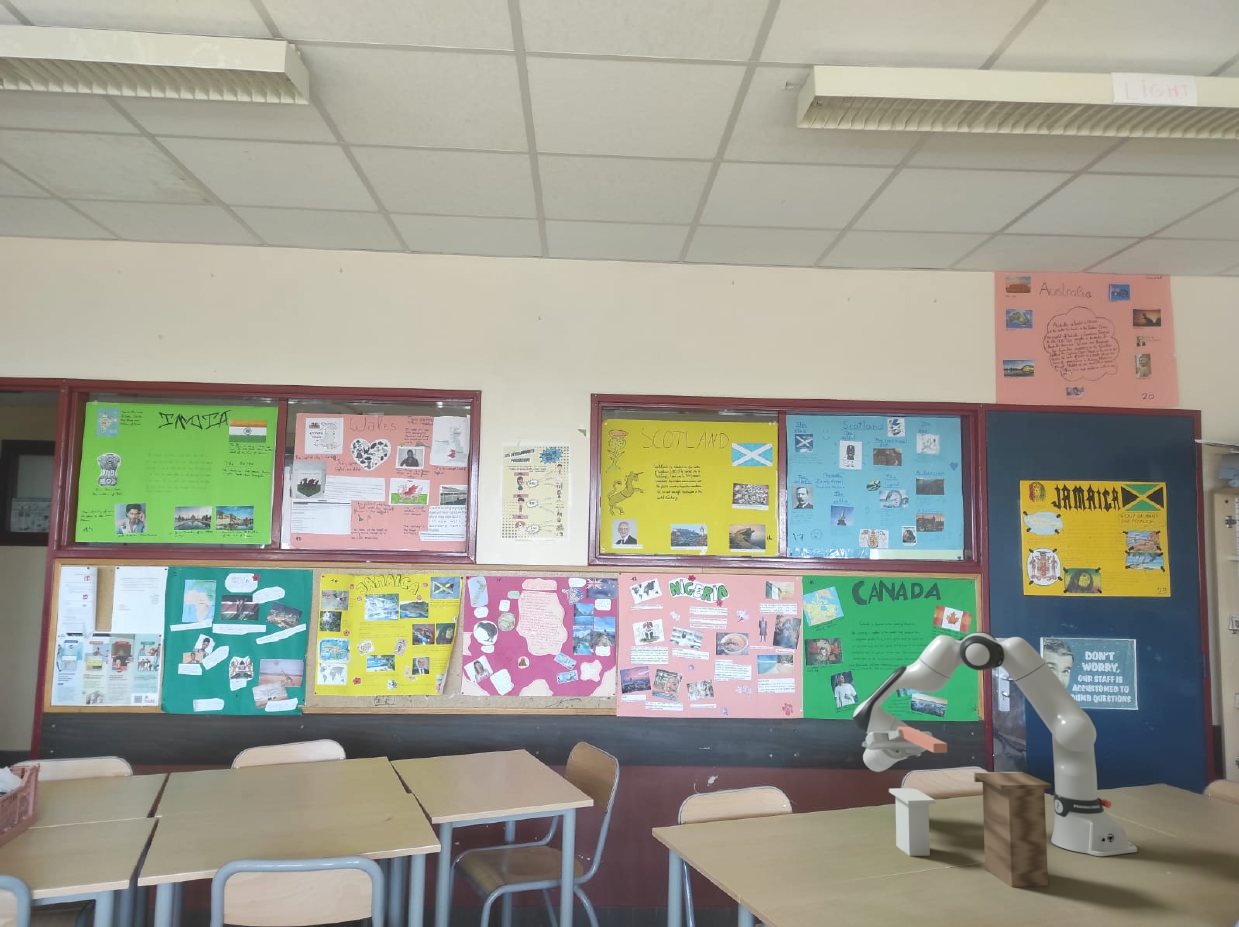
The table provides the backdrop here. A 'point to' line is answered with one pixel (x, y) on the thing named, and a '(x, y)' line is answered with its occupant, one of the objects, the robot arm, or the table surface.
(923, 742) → the salmon pink flat bar
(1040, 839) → the brown pedestal
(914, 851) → the stand
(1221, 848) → the table surface
